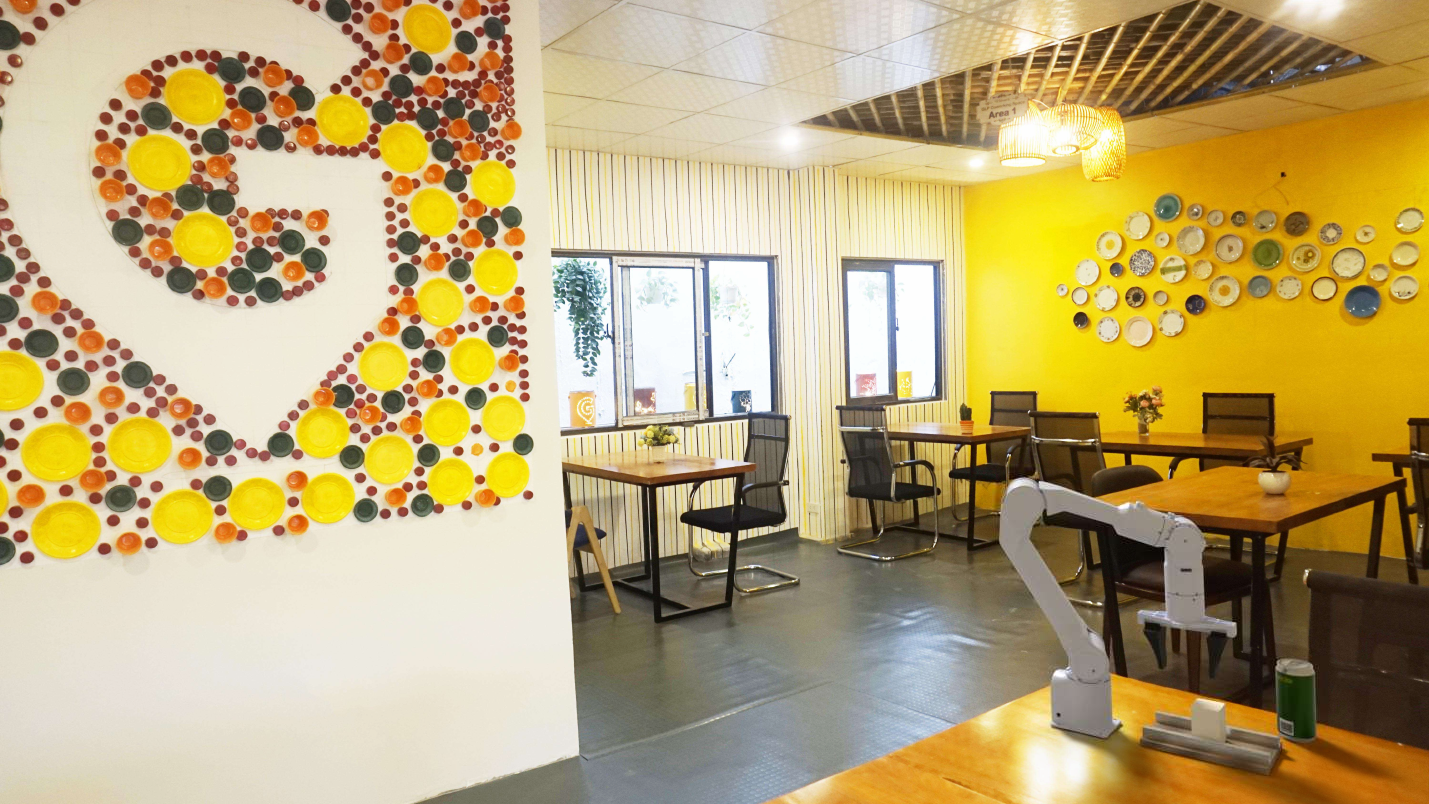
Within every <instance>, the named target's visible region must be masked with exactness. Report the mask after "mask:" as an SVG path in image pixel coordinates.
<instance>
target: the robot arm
mask: <svg viewBox="0 0 1429 804" xmlns="http://www.w3.org/2000/svg"><path fill="white" fill-rule="evenodd" d="M1000 507H1001V508H1000V519H999V534H998V535H999V538H998V542H999V544H1000V546H1001V548H1002V550H1003V551H1004V552H1005V554H1006V556H1007V557H1008V559H1009V560H1010V562H1011V564H1012V565H1013V567H1014V568H1015V570H1016V571H1017V574H1019V577H1020V578H1021V579H1022V581H1023V582H1024V584H1025V585H1026V587H1027V588H1028V590H1029V592H1030V593H1031V595H1032V596H1033V598H1034V600H1035V601H1036V602H1037V603H1036V604H1038V606H1039V607H1040V610H1042V612H1043V613H1044V615H1045V617H1046V618H1047V620H1048V622H1049V623H1050V624H1051V626H1052V628H1053V629H1054V631H1055V632H1056V634H1057V637H1058V639H1059V641H1060V643H1061V646H1062V648H1063V649H1064V651H1065V653H1066V654H1067V657H1068V665H1067V666H1068V667H1066V668H1065V669H1056V670H1055V671H1054V673H1053V675H1052V677H1051V681H1050V708H1051V709H1050V711H1051V712H1050V713H1051V722H1049V723H1050V726H1051V727H1054V728H1059V729H1063V730H1067V731H1072V732H1076V733H1080V734H1085V735H1088V736H1093V737H1098V738H1102V739H1107V738H1108V737H1109V736H1110V735H1112V733H1113V732H1115V730H1116V729H1117V728H1118V727H1119V726H1120V725H1121V724H1122V720H1121V719H1120V718H1116V717H1115V718H1114V717H1113V716H1114V715H1113V698H1112V697H1113V696H1112V673H1111V672H1110V665H1111V664H1110V659H1109V658H1108V657H1109V656H1108V655H1107V652H1106V645H1105V641H1104V639H1103V637H1101V635H1100V634H1099V633H1097V632H1096V631H1095V630H1093V629H1091V628H1090V627H1089V626H1088V625H1087V623H1086V622H1085V620H1084V619H1083V618H1082V617H1081V616H1080V614H1078V612H1077V610H1076V609H1075V607H1074V606H1073V605H1072V602H1071V601H1070V600H1069V598H1068V597H1067V595H1066V593H1065V592H1064V591H1063V589H1062V587H1061V586H1060V583H1058V581H1057V579H1056V578H1055V577H1054V575H1053V573H1052V572H1051V570H1050V569H1049V567H1048V566H1047V564H1046V563H1045V561H1044V559H1043V558H1042V556H1041V555H1040V554H1039V552H1038V550H1037V549H1036V547H1035V545H1034V543H1032V541H1031V539H1030V537H1031V533H1032V530H1033V526H1034V525H1035V524H1036V522H1037V521H1038V519H1039V518H1040V517H1041V516H1042V514H1043V513H1044V510H1045V511H1046V516H1052V515H1056V514H1058V513H1061V512H1067V513H1070V514H1074V515H1078V516H1080V517H1085V518H1089V519H1092V520H1096V521H1099V522H1102V523H1106V524H1110V525H1112V526H1113V528H1114V530H1115V531H1116V534H1117V535H1119V536H1123V537H1125V538H1128V539H1131V540H1135V541H1137V542H1141V543H1144V544H1146V545H1150V546H1152V547H1156V548H1161V547H1163V548H1164V563H1163V571H1164V572H1163V574H1164V595H1165V596H1164V597H1165V599H1164V600H1165V611H1161V610H1159V611H1158V610H1145V609H1140V610H1139V611H1138V612H1137V616H1136V617H1137V624H1138V625H1144V627H1143V628H1142V632H1143V635H1144V636H1145V638H1146V640H1147V641H1148V643H1149V645H1150V646H1151V649H1152V651H1153V653H1154V657H1155V659H1156V663H1157V667H1158V669H1159V670H1163V671H1164V669H1166V668H1167V666H1168V665H1167V664H1168V659H1167V658H1168V657H1167V647H1166V646H1167V627H1168V628H1173V629H1182V630H1188V631H1195V632H1203V633H1209V635H1208V636H1207V637H1206V639H1205V641H1206V647H1207V652H1208V676H1209V679H1216V678H1217V676H1218V671H1219V666H1220V660H1221V658H1222V654H1223V653H1224V651H1225V648H1226V645H1227V643H1228V642H1229V639H1230V638H1235V637H1236V636H1237V634H1238V633H1237V630H1238V629H1237V622H1233V621H1227V620H1223V619H1218V618H1215V617H1211V616H1207V615H1206V613H1205V612H1206V609H1205V587H1204V586H1205V585H1204V584H1205V583H1204V565H1203V564H1202V563H1203V561H1202V560H1203V555H1202V553H1203V552H1204V550H1205V548H1206V545H1207V541H1206V540H1205V537H1204V534H1203V532H1202V531H1201V529H1199V527H1198V526H1197V525H1196V524H1195V523H1194V522H1193V521H1192V520H1191V519H1188V518H1186V517H1185V516H1183V515H1177V514H1175V513H1173V512H1170V511H1168V512H1167V513H1164V512H1161V511H1158V510H1155V509H1151V508H1148V507H1146V504H1145V502H1141V501H1139V500H1136V502H1135V503H1133V502H1129V501H1127V502H1126V503H1122V504H1121V505H1115V504H1111V503H1108V502H1105V501H1103V500H1101V499H1097V498H1094V497H1092V496H1089V495H1086V494H1083V493H1082V492H1081V493H1080V492H1077V491H1075V490H1073V489H1069V488H1067V487H1064V486H1061V485H1057V484H1054V483H1050V482H1046V481H1040V480H1039V481H1038V482H1037V481H1036V480H1034V479H1032V478H1029V477H1019V478H1016V479H1014V480H1013V481H1011V482H1010V483H1009V484H1008V486H1007V487H1006V490H1005V492H1004V495H1003V497H1002V498H1001V506H1000Z"/></svg>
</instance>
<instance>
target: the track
mask: <svg viewBox="0 0 1429 804" xmlns="http://www.w3.org/2000/svg"><path fill="white" fill-rule="evenodd" d="M1154 713H1155V714H1154V715H1155V722H1154V723H1153V724H1152V725H1151V726H1150V725H1146V724H1144V725H1142V727H1141V729H1142V736H1141V737H1140V738H1139V746H1142V747H1144V748H1145V747H1146V748H1150V749H1154V750H1159V751H1163V752H1168V753H1170V754H1171V753H1172V754H1175V755H1179V756H1184V757H1188V758H1192V759H1196V760H1201V761H1205V762H1210V763H1212V764H1213V763H1214V764H1218V765H1222V766H1226V767H1231V768H1235V769H1239V770H1244V771H1248V772H1252V773H1255V774H1261V775H1263V776H1268V775H1269V773H1270V771H1271V770H1272V768H1273V767H1274V764H1275V763H1276V761H1277V759H1278V756H1279V755H1280V753H1281V751H1282V750H1283V741H1281V735H1276V734H1271V733H1267V732H1260V731H1256V730H1252V729H1247V728H1244V727H1243V728H1241V727H1237V726H1233V725H1228V724H1226V741H1225V743H1224V742H1219V741H1215V740H1210V739H1206V738H1201V737H1196V736H1192V726H1191V716H1190V717H1189V716H1186V715H1185V716H1184V715H1179V714H1176V713H1170V712H1166V711H1161V710H1156V711H1155V712H1154Z"/></svg>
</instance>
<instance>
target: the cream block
mask: <svg viewBox="0 0 1429 804" xmlns="http://www.w3.org/2000/svg"><path fill="white" fill-rule="evenodd" d="M1226 717H1227V716H1226V703H1225V702H1220V701H1214V700H1208V699H1204V698H1200V697H1199V698H1198V697H1197V698H1196V699H1195V701H1194V702H1192V703H1191V706H1190V718H1191V726H1192V736H1196V737H1201V738H1206V739H1210V740H1215V741H1219V742H1224V743H1225V741H1226V725H1227V721H1226Z"/></svg>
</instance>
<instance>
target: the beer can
mask: <svg viewBox="0 0 1429 804" xmlns="http://www.w3.org/2000/svg"><path fill="white" fill-rule="evenodd" d="M1276 664H1277V665H1276V666H1275V693H1276V697H1275V698H1276V699H1275V700H1276V724H1277V725H1276V727H1277V732H1278V734H1279V736H1280V737H1281V738H1283V739H1285V740H1288V741H1291V742H1295V743H1302V744H1303V743H1305V744H1306V743H1311V742H1314V740H1315V739H1316V737H1317V735H1318V734H1317V733H1318V732H1317V706H1316V705H1317V702H1316V699H1317V698H1316V695H1317V694H1316V672H1315V670H1314V665H1313V664H1312V663H1310V662H1308V661H1305V660H1301V659H1297V658H1283V659H1282V658H1281V659H1278V660H1277V661H1276Z"/></svg>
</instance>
